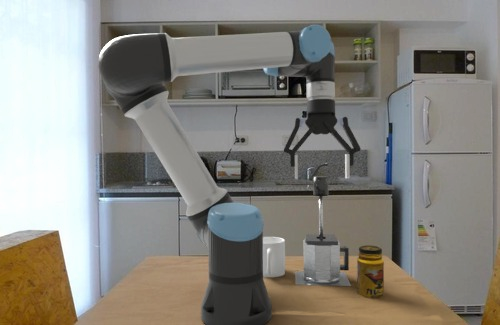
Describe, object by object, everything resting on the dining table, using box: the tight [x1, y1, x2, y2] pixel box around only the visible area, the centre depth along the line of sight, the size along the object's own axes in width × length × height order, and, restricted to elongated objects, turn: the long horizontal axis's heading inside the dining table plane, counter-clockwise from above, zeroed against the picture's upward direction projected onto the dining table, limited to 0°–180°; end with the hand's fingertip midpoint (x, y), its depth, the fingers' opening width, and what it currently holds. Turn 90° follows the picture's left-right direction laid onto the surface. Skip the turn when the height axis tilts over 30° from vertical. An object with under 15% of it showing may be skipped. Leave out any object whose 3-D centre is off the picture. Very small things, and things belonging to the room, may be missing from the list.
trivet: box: [294, 270, 352, 287], centre depth 100 cm, size 14×11×1 cm
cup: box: [263, 236, 286, 278], centre depth 103 cm, size 8×12×10 cm
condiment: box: [356, 244, 385, 299], centre depth 89 cm, size 7×8×12 cm
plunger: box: [312, 176, 329, 239], centre depth 99 cm, size 7×7×19 cm
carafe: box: [302, 233, 350, 284], centre depth 100 cm, size 12×10×11 cm
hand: (321, 178), depth 99 cm, fingers open, 13 cm apart
